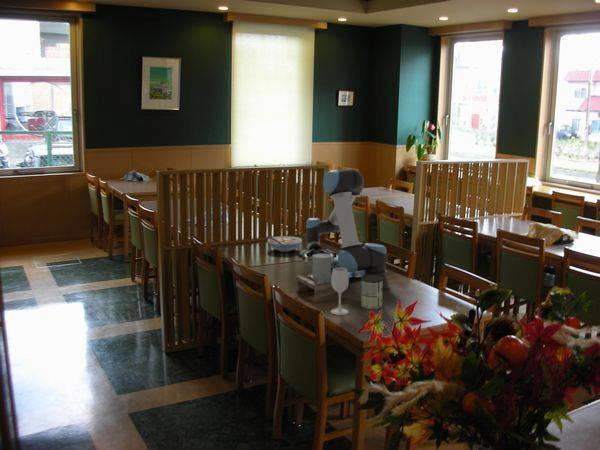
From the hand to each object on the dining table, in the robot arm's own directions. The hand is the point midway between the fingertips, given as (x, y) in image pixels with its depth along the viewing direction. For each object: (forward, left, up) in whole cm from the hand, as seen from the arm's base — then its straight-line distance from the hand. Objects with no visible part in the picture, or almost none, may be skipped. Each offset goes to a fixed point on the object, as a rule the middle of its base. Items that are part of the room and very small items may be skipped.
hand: (319, 259), depth 332 cm
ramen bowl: (+69, -51, -16) cm, 88 cm away
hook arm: (-7, +7, -10) cm, 14 cm away
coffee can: (-37, +6, -16) cm, 40 cm away
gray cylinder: (-7, +7, -8) cm, 12 cm away
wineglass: (-31, +24, -16) cm, 42 cm away
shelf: (-7, +7, -16) cm, 19 cm away
